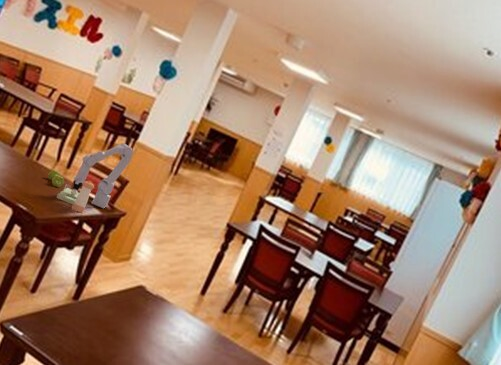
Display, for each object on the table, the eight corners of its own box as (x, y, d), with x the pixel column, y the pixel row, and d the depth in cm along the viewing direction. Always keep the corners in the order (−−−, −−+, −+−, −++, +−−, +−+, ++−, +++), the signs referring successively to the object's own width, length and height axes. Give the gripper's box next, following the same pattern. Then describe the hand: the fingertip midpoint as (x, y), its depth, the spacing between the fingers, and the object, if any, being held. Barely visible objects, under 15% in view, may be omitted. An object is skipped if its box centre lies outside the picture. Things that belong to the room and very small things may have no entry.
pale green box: (85, 199, 341) (92, 186, 341) (78, 206, 318) (84, 192, 317) (65, 191, 339) (71, 177, 338) (56, 197, 316) (62, 182, 315)
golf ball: (77, 191, 326) (74, 196, 326) (79, 191, 330) (75, 196, 330) (72, 188, 326) (68, 193, 326) (73, 187, 330) (70, 193, 330)
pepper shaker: (70, 209, 307) (83, 180, 305) (71, 206, 313) (84, 177, 312) (82, 213, 309) (95, 184, 307) (83, 210, 316) (96, 182, 314)
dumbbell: (62, 189, 341) (66, 179, 340) (50, 185, 336) (54, 175, 336) (57, 181, 354) (61, 171, 354) (46, 177, 350) (50, 168, 349)
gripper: (79, 169, 335) (70, 188, 336) (74, 172, 321) (65, 191, 322) (89, 173, 336) (80, 192, 337) (85, 176, 322) (76, 196, 323)
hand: (74, 192), depth 330 cm, fingers closed, pressing on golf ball
